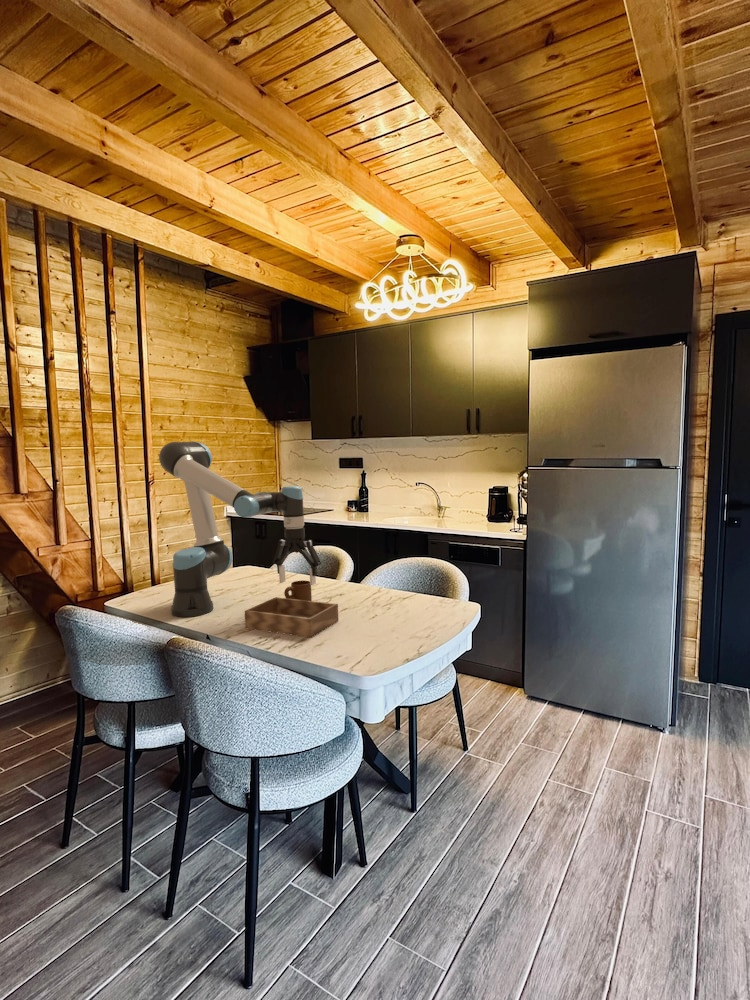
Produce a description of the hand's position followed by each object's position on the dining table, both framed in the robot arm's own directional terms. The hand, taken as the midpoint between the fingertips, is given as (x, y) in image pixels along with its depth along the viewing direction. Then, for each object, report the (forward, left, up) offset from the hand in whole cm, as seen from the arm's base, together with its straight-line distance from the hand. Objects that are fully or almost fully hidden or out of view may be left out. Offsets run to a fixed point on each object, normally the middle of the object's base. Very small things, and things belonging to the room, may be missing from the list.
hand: (297, 583), depth 204 cm
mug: (0, 0, -10) cm, 10 cm away
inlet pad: (+9, -17, -10) cm, 21 cm away
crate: (+9, -17, -10) cm, 21 cm away
